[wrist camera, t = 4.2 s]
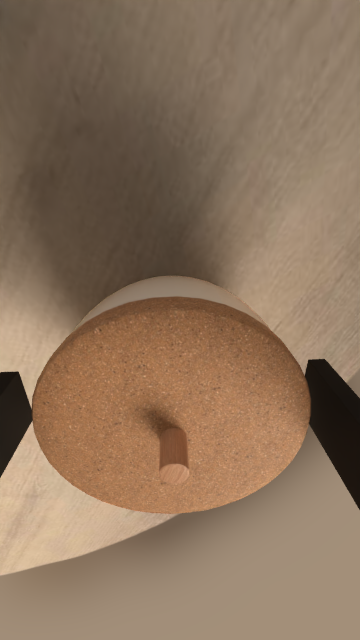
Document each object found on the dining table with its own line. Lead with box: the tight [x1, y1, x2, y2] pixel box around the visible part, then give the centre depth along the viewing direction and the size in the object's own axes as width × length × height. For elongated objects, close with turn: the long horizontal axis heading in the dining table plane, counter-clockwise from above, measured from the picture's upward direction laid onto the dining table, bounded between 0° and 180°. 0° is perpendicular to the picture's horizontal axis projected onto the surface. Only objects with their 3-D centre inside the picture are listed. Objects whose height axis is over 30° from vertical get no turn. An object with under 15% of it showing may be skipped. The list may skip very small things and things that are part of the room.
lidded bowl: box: [32, 276, 311, 514], centre depth 13 cm, size 11×11×9 cm
